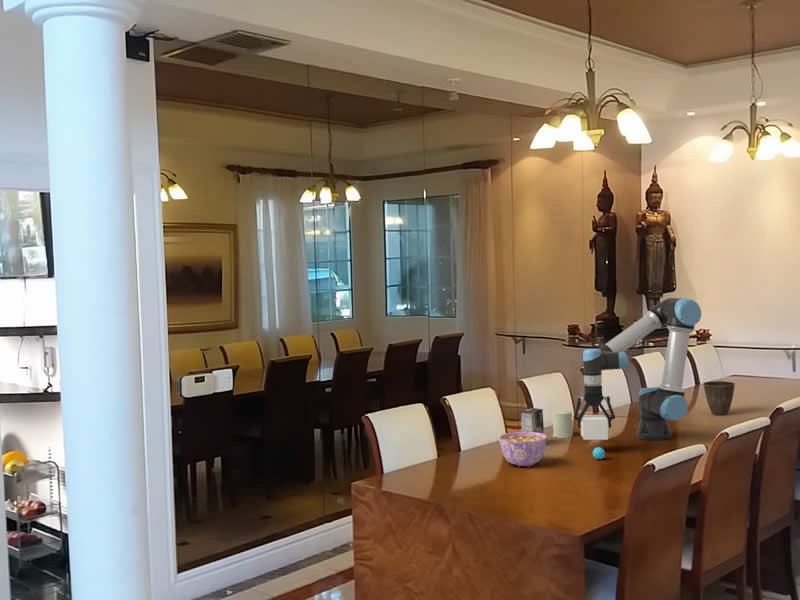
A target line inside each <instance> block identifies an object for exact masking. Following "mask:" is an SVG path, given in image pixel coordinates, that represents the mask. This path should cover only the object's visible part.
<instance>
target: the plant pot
mask: <svg viewBox="0 0 800 600" xmlns="http://www.w3.org/2000/svg"><path fill="white" fill-rule="evenodd" d="M735 385H736V384H735V382H732V381H720V380H719V381H715V380H714V381H706V382H703V389H704V394H705V398H706V401H707V405H708V408H709V410H710V412H711V414H712V415H714V416H722V417H723V416H727V415H729V412H730V410H731V405H732V402H733V398H734V391H735V387H736V386H735Z"/></svg>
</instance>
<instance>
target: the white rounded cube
mask: <svg viewBox="0 0 800 600" xmlns="http://www.w3.org/2000/svg"><path fill="white" fill-rule="evenodd" d="M581 420H582V421H583V436H582V439H583V440H584V441H585V440H586V441H590V440H593V441H594V440H595V441H596V440H597V441H598V440H609V436H608V423H607V420H608V419H607V417H606V415H605V414H584V415H583V417H582V419H581Z"/></svg>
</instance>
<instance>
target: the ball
mask: <svg viewBox="0 0 800 600" xmlns="http://www.w3.org/2000/svg"><path fill="white" fill-rule="evenodd" d="M605 455H606V452H605V450H604V449H603V448H602V447H601V446H600V447H595V448H594V449H593V450H592V456H593V458H594V459H596V460H598V459H600V460H602V459H604V458H605Z"/></svg>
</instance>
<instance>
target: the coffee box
mask: <svg viewBox="0 0 800 600" xmlns="http://www.w3.org/2000/svg"><path fill="white" fill-rule="evenodd" d="M520 422H521V423H520V424H521V425H520V426H521V432H537V433H542V434H545V427H544V426H545V425H544V411H543V408H537V407H531V408H528V409H522V410H520Z"/></svg>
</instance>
